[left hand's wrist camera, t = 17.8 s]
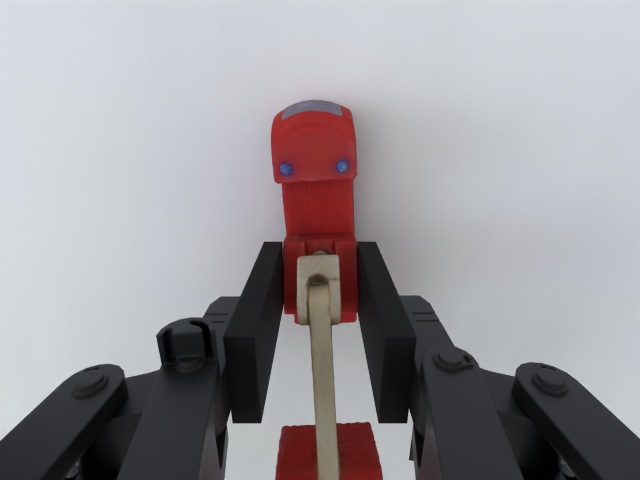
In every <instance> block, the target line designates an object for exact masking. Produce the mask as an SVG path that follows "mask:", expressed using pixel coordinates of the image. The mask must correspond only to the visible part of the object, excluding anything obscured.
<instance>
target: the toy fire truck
mask: <svg viewBox="0 0 640 480" xmlns="http://www.w3.org/2000/svg"><path fill="white" fill-rule="evenodd" d="M271 152H272V164H273V172H274V180H275V182H276V183H282V192H283V194H282V196H283V204H284V214H285V224H286V234H287V236H286V238H285V241H284V246H283V276H284V291H283V292H284V313H285V314H294V322H295V323H296V324H300V325H309V326H310V337H311V355H312V372H313V388H314V407H315V423H316V425H300V426H295V425H294V426H284V427H283V428H282V431H281V438H280V441H279V452H278V459H277V466H276V479H275V480H383V476H382V469H381V465H380V461H379V455H378V452H377V448H376V443H375V440H374V435H373V432H372V428H371V424H370V423H369V422H365V423H360V422H356V423H346V424H341V423H336V410H335V391H334V371H333V352H332V325H337V324H339V323H344V322H345V323H347V322H348V323H349V322H355V321H356V320H357V314H356V313H357V312H358V273H357V242H356V239H355V236H354V205H353V179H355V178H356V175H357V159H356V138H355V131H354V124H353V118H352V113H351V111H350V110H349V109H347V108H345V107H343V106H340V105H338V104H335V103H332V102H328V101H320V100H309V101H302V102H299V103H296V104H293V105H291V106H289V107H287V108H286V109H284V110H283V111H281V112H280V113H278V114H277V115H276V116H275V118H274V120H273V124H272V132H271Z"/></svg>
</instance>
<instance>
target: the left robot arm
mask: <svg viewBox="0 0 640 480" xmlns="http://www.w3.org/2000/svg"><path fill="white" fill-rule="evenodd" d="M357 273H358V317H359V322H360V327H361V333H362V338H363V343H364V348H365V354H366V359H367V364H368V370H369V375H370V380H371V385H372V391H373V396H374V401H375V407H376V412H377V417H378V422H379V423H407V419H408V411H409V410H410V413H411V416H412V420H413V423H414V424H413V432H412V440H411V448H410V456H409V460H411V461H414V466H415V476H416V480H640V439H639V438H638V437H637V436H636V435H635V434H634V433H633V432H632V431H631V430H630V429H629V428H628V427H627V426H625V425H624V424H623V423H622V422H621V421H620V420H619V419H618V418H617V417H616V416H615V415H614V414H613V413H611V412H610V411H609V410H608V409H607V408H606V407H605V406H604V405H603V404H602V403H601V402H600V401H599V400H597V399H596V398H595V397H594V396H593V395H592V394H591V393H590V392H589V391H588V390H587V389H586V388H585V387H584V386H582V385H581V384H580V383H579V382H578V381H577V380H576V379H574V378H573V377H572V376H570V375H569V374H568V373H566V372H564V371H562V370H560V369H558V368H556V367H553V366H550V365H546V364H542V363H532V362H529V363H525V364H521V365H520V366H519V367H518V368H517V369H516V373H515V377H514V376H509V375H504V374H500V373H495V372H491V371H488V370H484V369H481V368H480V367H479V365H478V363H477V362H476V360H475V359H474V357H473V356H471V355H470V354H469V353H467V352H466V351H464V350H462V349H460V348H457V347H455V346H454V344H453V343H452V341H451V339H450V338H449V336H448V334H447V332H446V331H445V329H444V327H443V325H442V324H441V322H439V319H438V317H437V315H436V314H435V312H434V310H433V308H432V306H431V305H430V303H429V302H427V301H426V300H424V299H423V298H422V297H420V296H399V295H398V292H397V290H396V288H395V285H394V283H393V281H392V279H391V276H390V274H389V272H388V269H387V267H386V265H385V262H384V260H383V258H382V255H381V253H380V251H379V249H378V246H377V244H376V242H357ZM283 291H284V276H283V247H282V242H264V243H263V246H262V248H261V250H260V253H259V255H258V257H257V260H256V262H255V264H254V266H253V269H252V271H251V273H250V276H249V278H248V280H247V283H246V285H245V287H244V290H243V292H242V294H241V296H240V297H220V298H218V299H217V300H216V301H214V302H213V303H212V304H210V306H209V307H208V309H207V311H206V313H205V316H203V318H193V317H191V318H186V319H180V320H178V321H175V322H172V323H170V324H168V325H167V326H165V327H164V328H162V329H161V330H160V331H159V333H158V334H157V335H156V337H157V342H158V347H159V353H160V358H161V363H162V365H161V368H160V370H157V371H154V372H150V373H147V374H142V375H138V376H133V377H128V378H125V374H124V370H122V369H121V368H120V367H119V366H117V365H113V364H102V365H96V366H92V367H89V368H86V369H84V370H82V371H80V372H77V373H75V374H73V375H72V376H71V377H69V378H68V379H67V380H65V381H64V382H63V383H62V384H61V385H60V386H58V387H57V388H56V389H55V390H54V391H53V392H52V393H51V394H50V395H49V396H48V397H47V398H46V399H45V400H43V401H42V402H41V403H40V404H39V405H38V406H37V407H36V408H35V409H34V410H33V411H32V412H31V413H30V414H29V415H27V416H26V417H25V418H24V419H23V420H22V421H21V422H20V423H19V424H18V425H17V426H16V427H15V428H14V429H13V430H11V431H10V432H9V433H8V434H7V435H6V436H5V437H4V438H3V439H2V440H1V441H0V480H224V477H225V467H226V457H227V447H228V432H227V421H228V417H229V414H230V411H231V413H232V421H233V423H261V421H262V416H263V411H264V405H265V400H266V395H267V389H268V384H269V379H270V374H271V368H272V363H273V358H274V352H275V347H276V342H277V337H278V331H279V326H280V321H281V316H282V310H283V305H284V292H283ZM564 462H565V463H566V464H565V463H564ZM74 465H75V466H74ZM567 466H568V467H569V468H568V467H567Z"/></svg>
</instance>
